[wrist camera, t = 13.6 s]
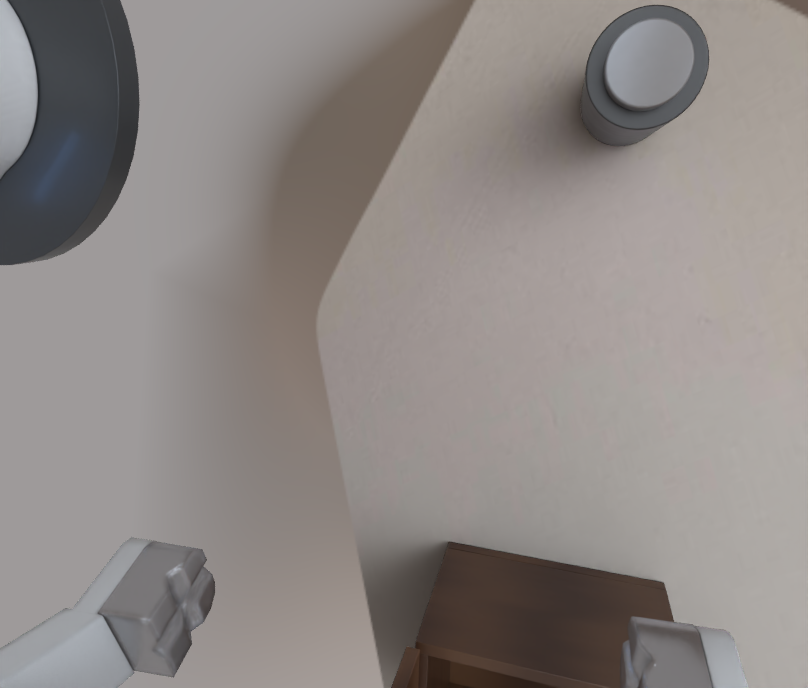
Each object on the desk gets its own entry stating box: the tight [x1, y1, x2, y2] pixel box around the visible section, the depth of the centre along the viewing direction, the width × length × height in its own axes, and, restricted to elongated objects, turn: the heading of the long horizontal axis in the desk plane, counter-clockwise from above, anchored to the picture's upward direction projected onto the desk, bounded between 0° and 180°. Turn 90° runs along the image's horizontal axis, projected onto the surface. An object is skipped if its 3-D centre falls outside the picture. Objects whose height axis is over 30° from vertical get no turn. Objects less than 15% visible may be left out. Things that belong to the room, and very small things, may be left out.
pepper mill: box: [580, 5, 709, 146], centre depth 26 cm, size 5×5×10 cm
